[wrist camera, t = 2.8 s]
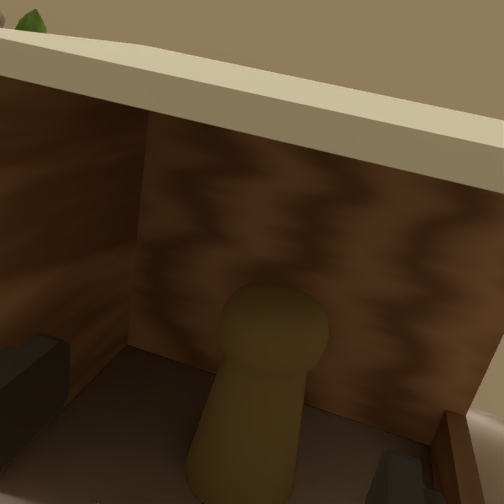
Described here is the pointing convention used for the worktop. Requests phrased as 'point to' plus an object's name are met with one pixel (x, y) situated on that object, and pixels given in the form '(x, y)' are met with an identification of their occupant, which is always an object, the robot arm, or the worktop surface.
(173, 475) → the worktop surface
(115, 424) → the worktop surface
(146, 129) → the wooden cabinet
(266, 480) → the cork
